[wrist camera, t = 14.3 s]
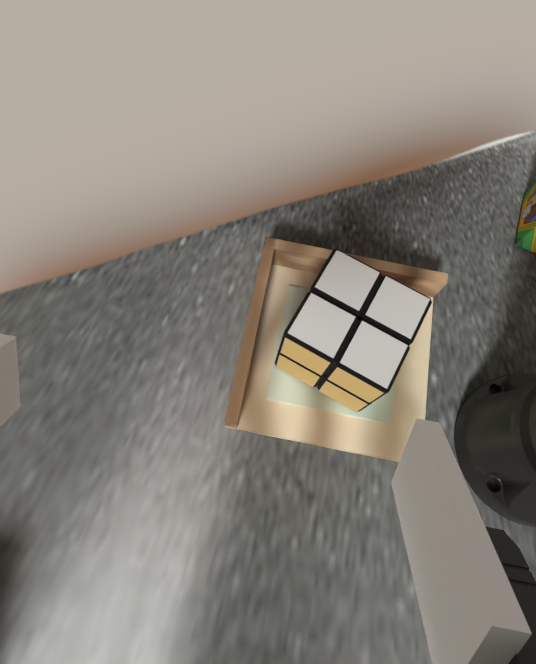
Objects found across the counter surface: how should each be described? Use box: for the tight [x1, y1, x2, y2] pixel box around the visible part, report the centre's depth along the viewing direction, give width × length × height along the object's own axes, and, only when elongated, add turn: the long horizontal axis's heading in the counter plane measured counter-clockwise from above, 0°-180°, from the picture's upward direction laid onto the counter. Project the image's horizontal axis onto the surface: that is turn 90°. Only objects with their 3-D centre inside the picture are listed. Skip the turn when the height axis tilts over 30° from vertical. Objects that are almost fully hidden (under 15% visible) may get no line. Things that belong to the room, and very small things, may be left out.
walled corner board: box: [225, 237, 448, 462], centre depth 47 cm, size 20×20×4 cm
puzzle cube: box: [275, 249, 432, 412], centre depth 44 cm, size 10×10×10 cm
